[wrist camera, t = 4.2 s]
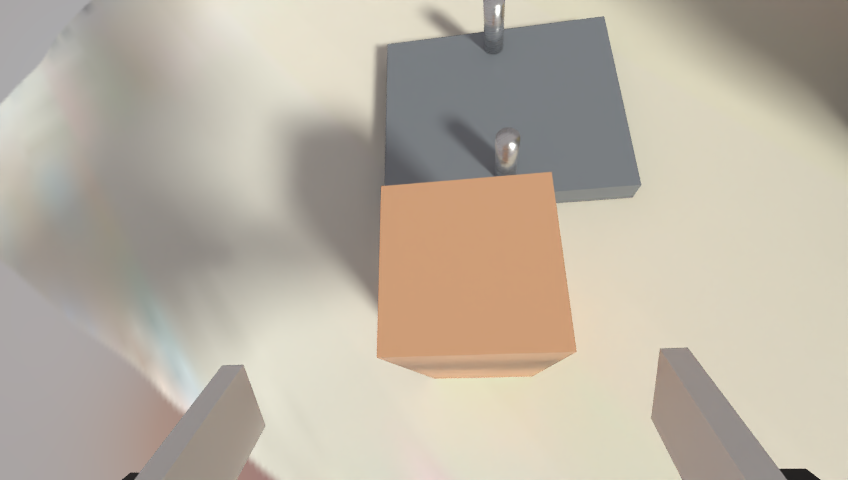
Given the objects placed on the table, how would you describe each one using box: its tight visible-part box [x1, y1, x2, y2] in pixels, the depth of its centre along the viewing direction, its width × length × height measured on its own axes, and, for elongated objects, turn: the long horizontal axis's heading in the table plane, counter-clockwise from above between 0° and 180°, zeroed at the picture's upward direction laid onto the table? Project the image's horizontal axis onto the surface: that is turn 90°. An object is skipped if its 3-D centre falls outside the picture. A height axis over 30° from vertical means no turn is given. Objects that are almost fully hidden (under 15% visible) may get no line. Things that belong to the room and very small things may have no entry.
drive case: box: [377, 172, 576, 378], centre depth 17 cm, size 5×5×12 cm
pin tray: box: [385, 0, 641, 203], centre depth 25 cm, size 14×12×5 cm
